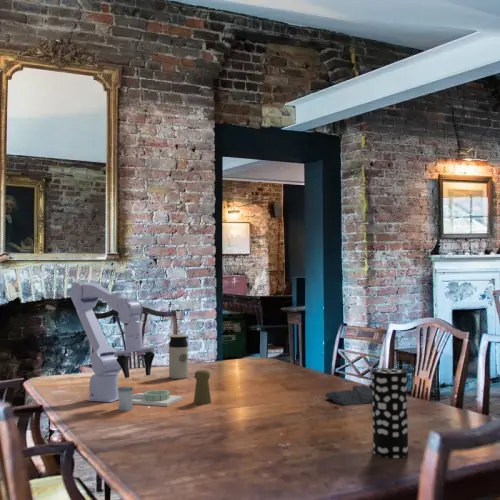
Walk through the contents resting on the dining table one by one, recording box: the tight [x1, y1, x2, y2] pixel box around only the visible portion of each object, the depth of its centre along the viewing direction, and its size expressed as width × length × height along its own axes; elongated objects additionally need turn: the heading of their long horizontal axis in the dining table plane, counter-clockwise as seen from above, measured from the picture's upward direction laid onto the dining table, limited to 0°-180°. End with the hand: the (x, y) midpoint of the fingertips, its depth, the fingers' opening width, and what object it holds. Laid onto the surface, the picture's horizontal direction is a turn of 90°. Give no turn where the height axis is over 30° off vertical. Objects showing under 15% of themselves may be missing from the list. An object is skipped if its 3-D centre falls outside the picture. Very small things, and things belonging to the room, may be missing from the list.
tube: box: [118, 386, 134, 412], centre depth 199 cm, size 5×5×7 cm
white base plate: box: [132, 389, 184, 407], centre depth 211 cm, size 18×12×3 cm, turn 70°
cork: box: [193, 369, 212, 405], centre depth 208 cm, size 6×6×11 cm
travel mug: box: [168, 333, 189, 380], centre depth 258 cm, size 8×8×18 cm
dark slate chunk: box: [325, 384, 373, 407], centre depth 210 cm, size 15×22×5 cm
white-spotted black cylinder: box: [371, 367, 409, 459], centre depth 149 cm, size 8×8×20 cm
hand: (137, 376), depth 204 cm, fingers open, 7 cm apart
